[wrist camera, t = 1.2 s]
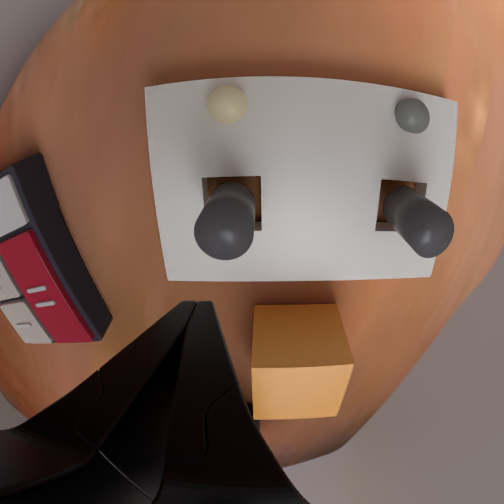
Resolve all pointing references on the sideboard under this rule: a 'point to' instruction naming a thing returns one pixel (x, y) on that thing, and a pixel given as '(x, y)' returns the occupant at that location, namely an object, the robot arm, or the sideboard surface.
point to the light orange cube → (299, 361)
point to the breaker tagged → (226, 222)
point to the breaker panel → (297, 172)
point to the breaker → (418, 221)
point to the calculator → (43, 263)
